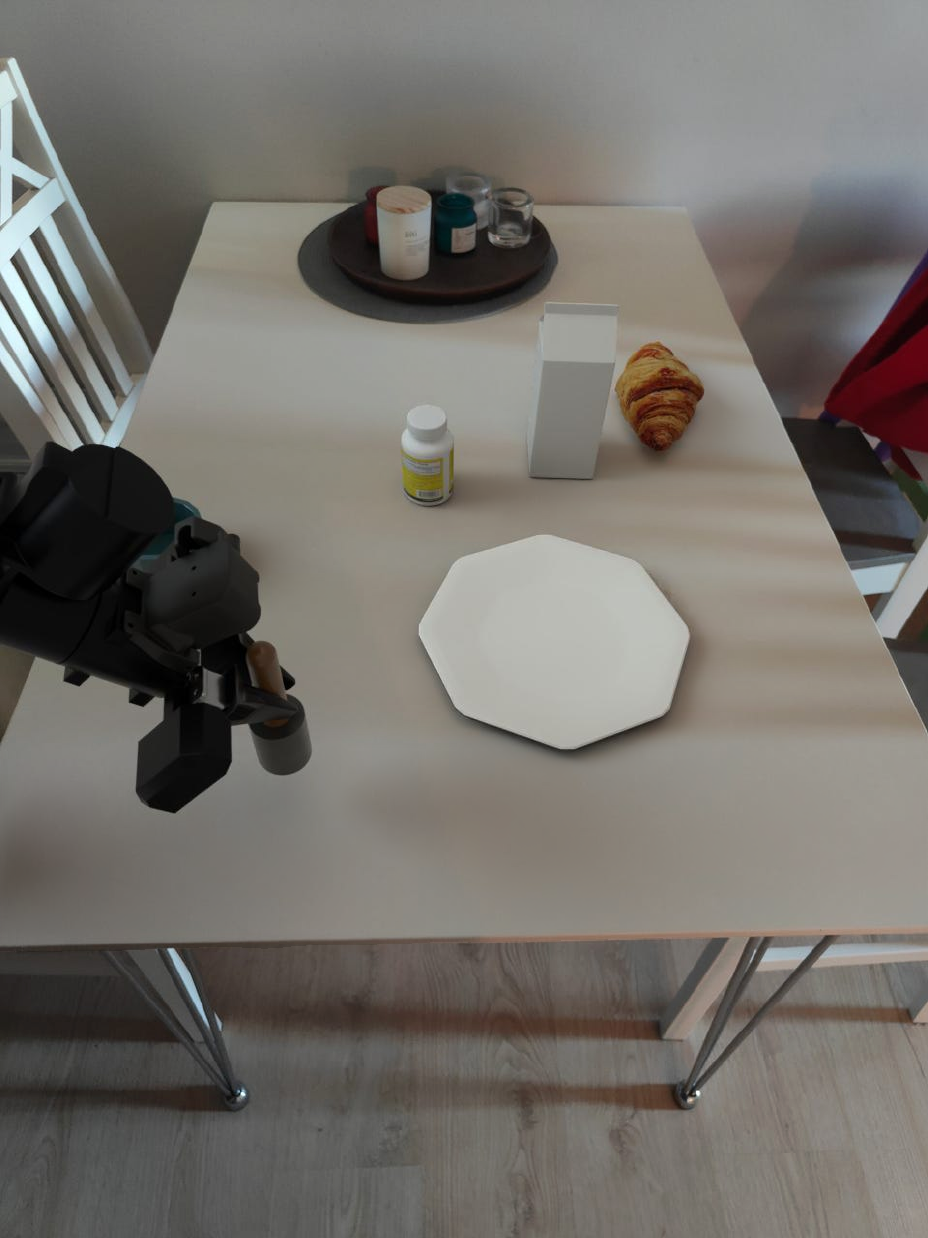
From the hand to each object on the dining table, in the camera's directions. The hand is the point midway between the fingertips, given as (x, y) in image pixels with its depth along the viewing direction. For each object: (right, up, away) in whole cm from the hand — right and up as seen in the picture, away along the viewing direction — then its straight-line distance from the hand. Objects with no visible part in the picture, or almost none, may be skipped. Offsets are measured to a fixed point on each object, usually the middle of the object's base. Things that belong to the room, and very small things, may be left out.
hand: (292, 699), depth 59 cm
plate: (+20, +3, +21) cm, 29 cm away
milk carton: (+23, +24, +38) cm, 50 cm away
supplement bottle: (+8, +19, +33) cm, 39 cm away
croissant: (+35, +31, +44) cm, 64 cm away
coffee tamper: (-2, -4, +5) cm, 7 cm away
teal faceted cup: (-17, +11, +25) cm, 33 cm away
